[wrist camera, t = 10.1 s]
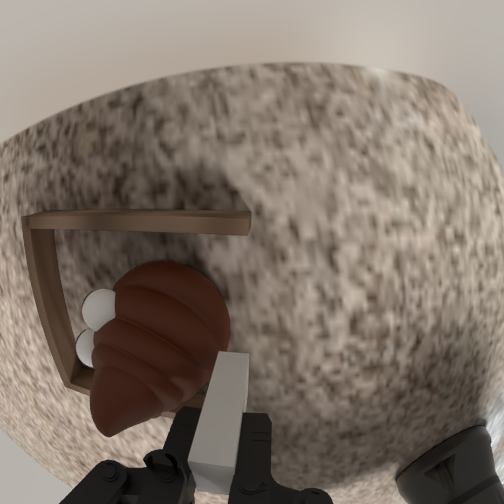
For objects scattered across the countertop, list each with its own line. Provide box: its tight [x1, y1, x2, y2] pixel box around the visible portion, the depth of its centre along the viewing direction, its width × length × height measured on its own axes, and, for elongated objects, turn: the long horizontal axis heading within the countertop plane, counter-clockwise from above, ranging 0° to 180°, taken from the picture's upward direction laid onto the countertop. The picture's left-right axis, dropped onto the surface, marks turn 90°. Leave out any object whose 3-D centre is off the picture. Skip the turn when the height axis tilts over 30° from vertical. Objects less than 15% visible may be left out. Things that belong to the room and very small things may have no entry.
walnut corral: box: [21, 209, 251, 419], centre depth 16 cm, size 16×15×2 cm
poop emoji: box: [76, 260, 230, 437], centre depth 13 cm, size 10×8×9 cm
